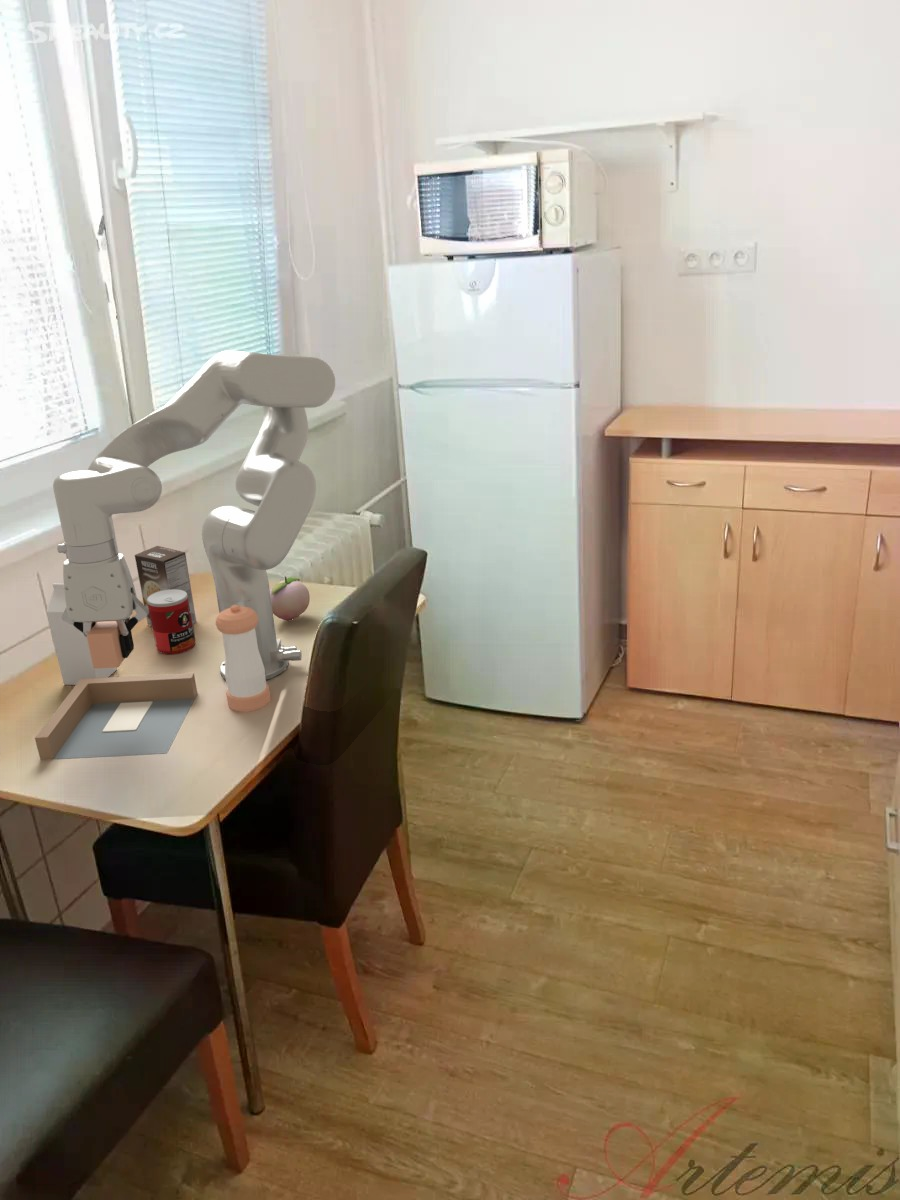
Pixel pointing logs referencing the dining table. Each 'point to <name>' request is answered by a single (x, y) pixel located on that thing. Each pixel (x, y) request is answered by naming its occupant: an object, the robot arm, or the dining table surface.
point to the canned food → (171, 621)
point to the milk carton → (71, 644)
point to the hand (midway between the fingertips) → (113, 654)
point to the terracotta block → (105, 645)
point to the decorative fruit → (289, 598)
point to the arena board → (118, 717)
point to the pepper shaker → (242, 659)
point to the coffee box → (163, 574)
